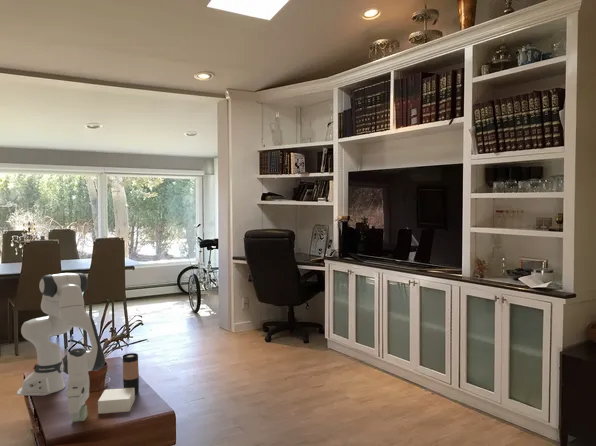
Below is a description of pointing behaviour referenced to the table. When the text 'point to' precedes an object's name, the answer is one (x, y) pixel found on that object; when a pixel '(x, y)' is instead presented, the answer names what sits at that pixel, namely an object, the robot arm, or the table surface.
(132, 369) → the travel mug
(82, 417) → the sage cube
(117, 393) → the box
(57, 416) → the table surface
